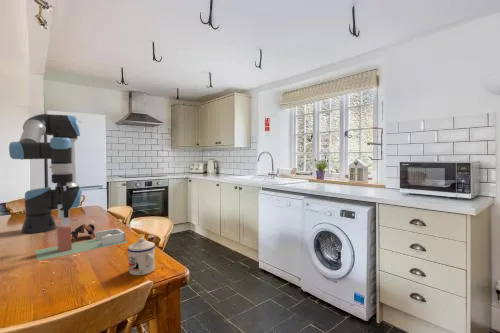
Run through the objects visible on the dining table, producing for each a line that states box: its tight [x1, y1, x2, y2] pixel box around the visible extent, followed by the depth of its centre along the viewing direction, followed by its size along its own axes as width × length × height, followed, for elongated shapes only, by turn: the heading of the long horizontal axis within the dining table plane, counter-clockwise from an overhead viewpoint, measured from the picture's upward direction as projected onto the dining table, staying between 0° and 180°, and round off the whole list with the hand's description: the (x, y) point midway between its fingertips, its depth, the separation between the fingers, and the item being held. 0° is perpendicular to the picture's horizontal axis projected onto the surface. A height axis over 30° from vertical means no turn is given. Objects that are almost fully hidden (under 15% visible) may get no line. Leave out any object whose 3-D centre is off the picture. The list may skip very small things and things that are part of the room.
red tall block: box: [56, 221, 72, 252], centre depth 120 cm, size 4×4×12 cm
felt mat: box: [34, 238, 128, 262], centre depth 125 cm, size 16×34×1 cm, turn 131°
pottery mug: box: [71, 223, 96, 240], centre depth 138 cm, size 12×10×8 cm
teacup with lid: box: [127, 237, 156, 276], centre depth 97 cm, size 12×9×12 cm
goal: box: [95, 228, 127, 246], centre depth 132 cm, size 12×10×4 cm
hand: (63, 221), depth 120 cm, fingers open, 13 cm apart
